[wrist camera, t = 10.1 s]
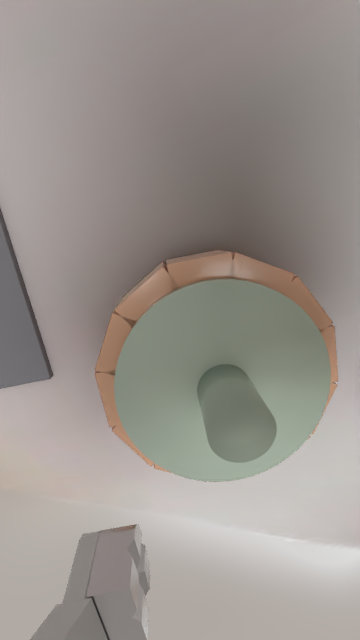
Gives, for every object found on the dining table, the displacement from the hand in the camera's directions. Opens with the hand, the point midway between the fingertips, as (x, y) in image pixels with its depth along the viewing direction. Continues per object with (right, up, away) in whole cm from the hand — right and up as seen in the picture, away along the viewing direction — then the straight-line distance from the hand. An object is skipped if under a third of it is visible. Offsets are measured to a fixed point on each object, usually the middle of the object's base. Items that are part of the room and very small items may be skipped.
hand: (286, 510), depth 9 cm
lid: (-1, +2, +10) cm, 10 cm away
